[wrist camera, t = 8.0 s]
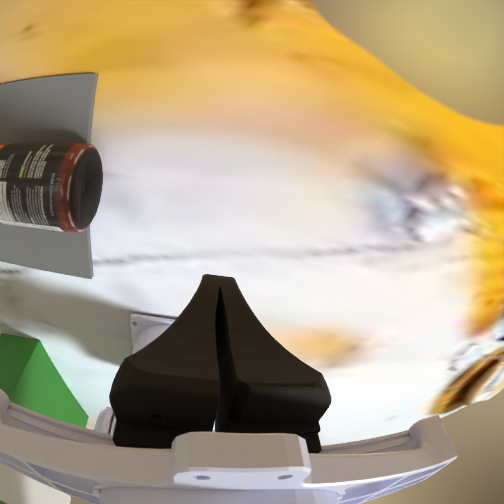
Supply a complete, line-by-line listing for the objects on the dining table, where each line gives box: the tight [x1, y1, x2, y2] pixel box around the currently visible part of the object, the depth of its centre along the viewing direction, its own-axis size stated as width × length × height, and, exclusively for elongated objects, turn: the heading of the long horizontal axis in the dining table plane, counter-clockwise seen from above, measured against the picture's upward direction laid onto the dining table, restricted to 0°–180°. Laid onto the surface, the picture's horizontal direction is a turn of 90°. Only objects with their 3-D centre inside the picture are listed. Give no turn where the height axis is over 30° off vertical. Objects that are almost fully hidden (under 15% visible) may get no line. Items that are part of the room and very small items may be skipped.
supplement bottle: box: [0, 142, 103, 233], centre depth 16 cm, size 6×6×11 cm
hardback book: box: [0, 334, 88, 504], centre depth 21 cm, size 18×7×24 cm, turn 179°
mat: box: [0, 73, 98, 279], centre depth 18 cm, size 17×15×1 cm
